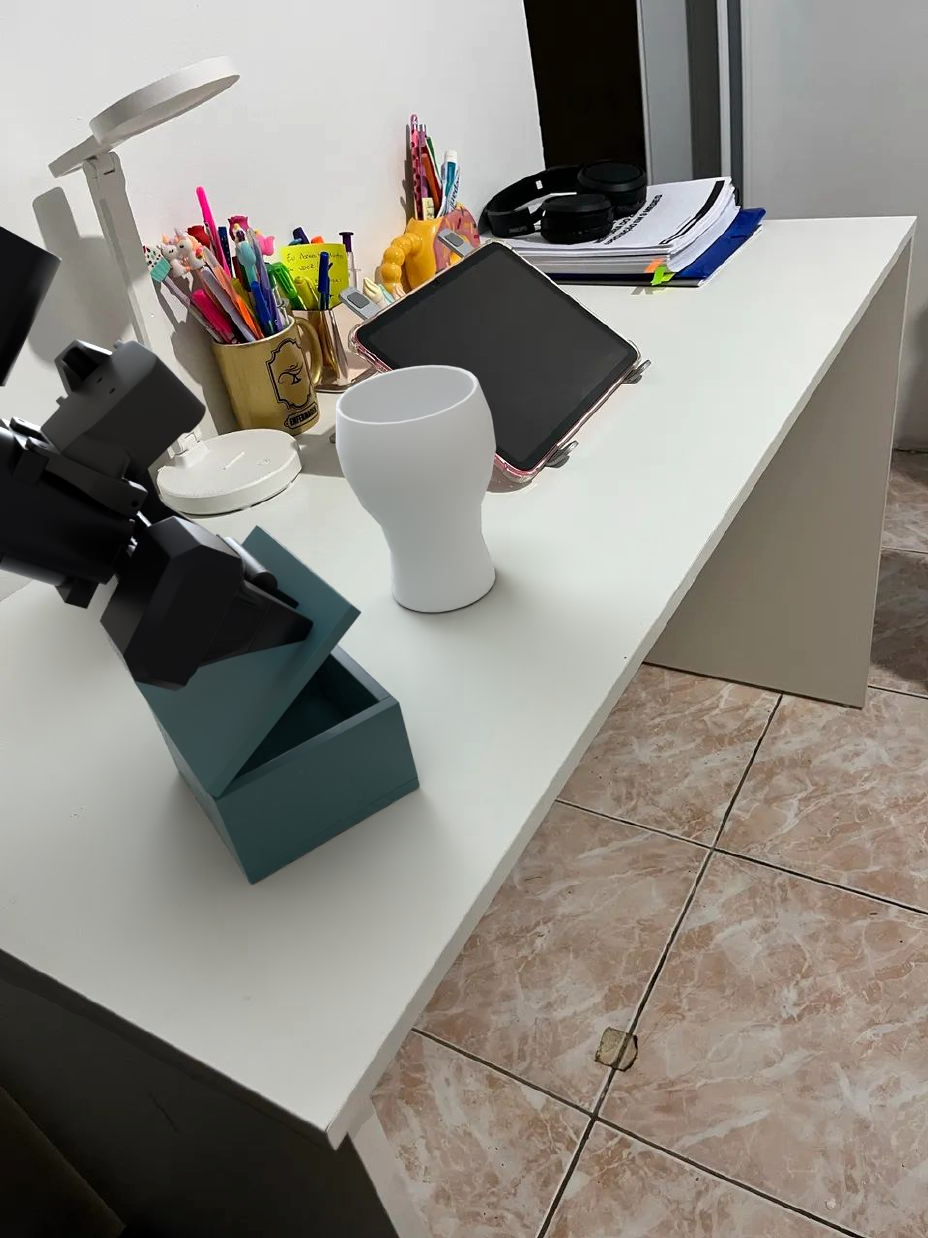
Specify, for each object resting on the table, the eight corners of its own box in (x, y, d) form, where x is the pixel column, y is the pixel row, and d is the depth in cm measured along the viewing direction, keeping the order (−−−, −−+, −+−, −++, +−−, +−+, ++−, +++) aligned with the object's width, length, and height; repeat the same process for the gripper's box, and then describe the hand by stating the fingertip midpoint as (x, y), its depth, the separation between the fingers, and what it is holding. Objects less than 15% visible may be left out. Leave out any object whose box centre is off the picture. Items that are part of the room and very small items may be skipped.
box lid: (266, 530, 55) (214, 493, 52) (362, 612, 46) (306, 572, 44) (144, 687, 55) (86, 658, 52) (218, 798, 46) (152, 770, 43)
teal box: (328, 691, 62) (305, 612, 59) (420, 786, 54) (399, 702, 50) (177, 769, 58) (141, 690, 54) (251, 886, 50) (214, 802, 46)
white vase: (489, 631, 65) (455, 428, 56) (350, 619, 69) (298, 428, 60) (531, 548, 73) (507, 359, 64) (404, 542, 76) (365, 363, 68)
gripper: (103, 354, 31) (437, 516, 42) (-5, 272, 45) (267, 410, 55) (-32, 647, 33) (323, 732, 43) (-98, 482, 46) (185, 577, 57)
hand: (270, 593), depth 50 cm, fingers open, 9 cm apart
